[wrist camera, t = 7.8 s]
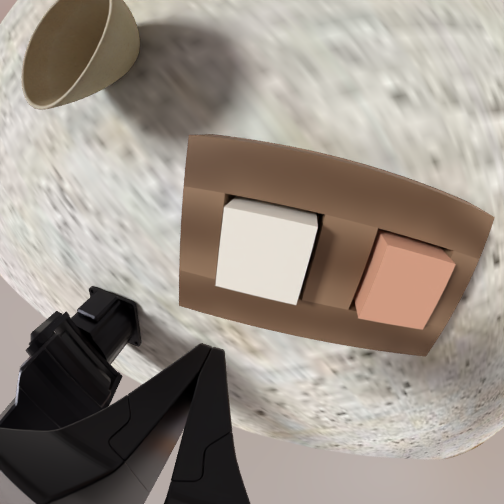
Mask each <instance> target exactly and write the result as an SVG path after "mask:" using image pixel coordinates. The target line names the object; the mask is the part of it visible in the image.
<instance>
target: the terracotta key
mask: <svg viewBox="0 0 504 504" xmlns="http://www.w3.org/2000/svg"><path fill="white" fill-rule="evenodd" d="M455 265H456V264H455V263H454V262H453V261H452V260H451V258H450V257H449V256H448V255H447V254H446V253H445V252H444V251H443V250H442V249H441V248H440V247H439V246H437V245H434V244H431V243H428V242H425V241H421V240H418V239H415V238H411V237H408V236H404V235H401V234H397V233H394V232H390V231H387V230H383V229H380V228H378V230H377V234H376V237H375V240H374V243H373V246H372V249H371V252H370V254H369V257H368V260H367V263H366V266H365V268H364V271H363V274H362V276H361V279H360V282H359V284H358V287H357V289H356V292H355V294H354V300H355V305H356V310H357V315H358V318H359V319H364V320H369V321H375V322H380V323H386V324H392V325H397V326H403V327H409V328H415V329H421V330H423V328H424V326H425V325H426V323H427V321H428V319H429V318H430V316H431V314H432V312H433V310H434V308H435V307H436V305H437V303H438V301H439V299H440V297H441V295H442V293H443V291H444V289H445V287H446V285H447V283H448V280H449V278H450V276H451V274H452V272H453V269H454V267H455Z"/></svg>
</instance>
